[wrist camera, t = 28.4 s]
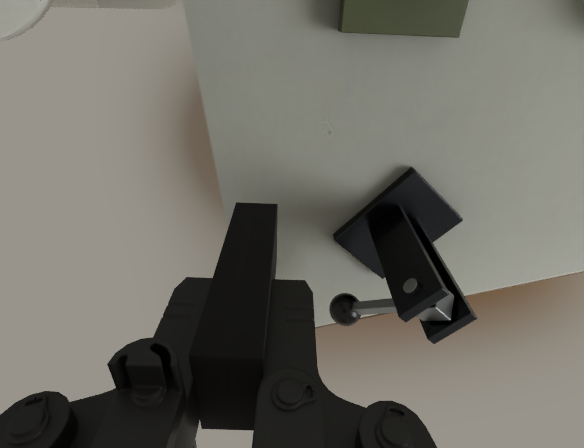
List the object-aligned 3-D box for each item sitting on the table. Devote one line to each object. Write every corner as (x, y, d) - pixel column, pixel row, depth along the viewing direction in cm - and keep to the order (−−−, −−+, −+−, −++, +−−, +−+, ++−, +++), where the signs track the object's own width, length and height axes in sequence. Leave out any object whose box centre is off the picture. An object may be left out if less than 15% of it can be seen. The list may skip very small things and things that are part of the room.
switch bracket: (380, 273, 45) (413, 373, 33) (332, 234, 42) (348, 329, 30) (459, 215, 41) (532, 306, 28) (411, 166, 38) (470, 244, 25)
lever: (349, 303, 42) (341, 331, 40) (328, 288, 41) (318, 316, 39) (460, 293, 31) (454, 331, 29) (436, 272, 30) (429, 310, 28)
